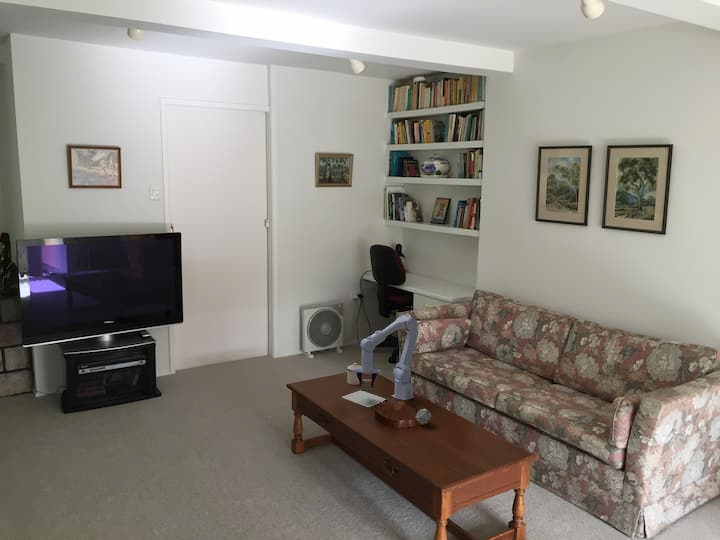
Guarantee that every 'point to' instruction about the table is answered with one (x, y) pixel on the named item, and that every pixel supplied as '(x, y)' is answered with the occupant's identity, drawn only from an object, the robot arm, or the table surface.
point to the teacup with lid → (353, 377)
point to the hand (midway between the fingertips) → (366, 386)
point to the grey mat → (364, 398)
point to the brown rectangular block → (366, 385)
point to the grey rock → (423, 416)
